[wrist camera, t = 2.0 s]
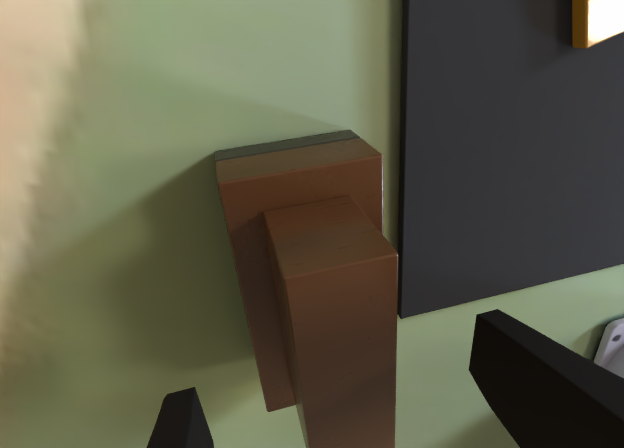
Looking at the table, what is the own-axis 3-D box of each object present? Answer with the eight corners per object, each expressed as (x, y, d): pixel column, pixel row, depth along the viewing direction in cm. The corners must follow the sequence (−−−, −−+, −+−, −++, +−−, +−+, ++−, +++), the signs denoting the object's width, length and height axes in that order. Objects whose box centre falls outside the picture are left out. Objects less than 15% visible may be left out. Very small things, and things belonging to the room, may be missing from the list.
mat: (658, 249, 20) (666, 253, 20) (396, 313, 18) (400, 319, 17) (865, -286, 11) (885, -295, 11) (407, -300, 9) (415, -313, 9)
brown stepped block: (359, 331, 18) (425, 462, 12) (257, 356, 17) (283, 507, 12) (350, 129, 13) (445, 201, 8) (214, 150, 13) (223, 245, 7)
